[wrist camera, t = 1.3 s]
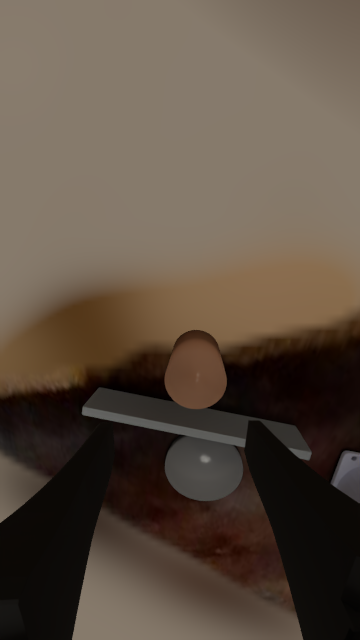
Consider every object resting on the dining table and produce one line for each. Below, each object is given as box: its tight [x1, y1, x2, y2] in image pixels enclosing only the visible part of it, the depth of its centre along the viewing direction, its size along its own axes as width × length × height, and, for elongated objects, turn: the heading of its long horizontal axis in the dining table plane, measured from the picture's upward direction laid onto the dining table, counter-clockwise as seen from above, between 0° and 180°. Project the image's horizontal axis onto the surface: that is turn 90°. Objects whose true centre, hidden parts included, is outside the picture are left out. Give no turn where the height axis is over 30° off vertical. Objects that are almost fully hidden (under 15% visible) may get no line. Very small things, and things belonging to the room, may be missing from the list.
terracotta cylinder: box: [165, 330, 227, 409], centre depth 20 cm, size 4×4×6 cm
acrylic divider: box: [82, 387, 312, 460], centre depth 22 cm, size 20×1×4 cm, turn 80°
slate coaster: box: [165, 435, 243, 501], centre depth 25 cm, size 8×8×1 cm
